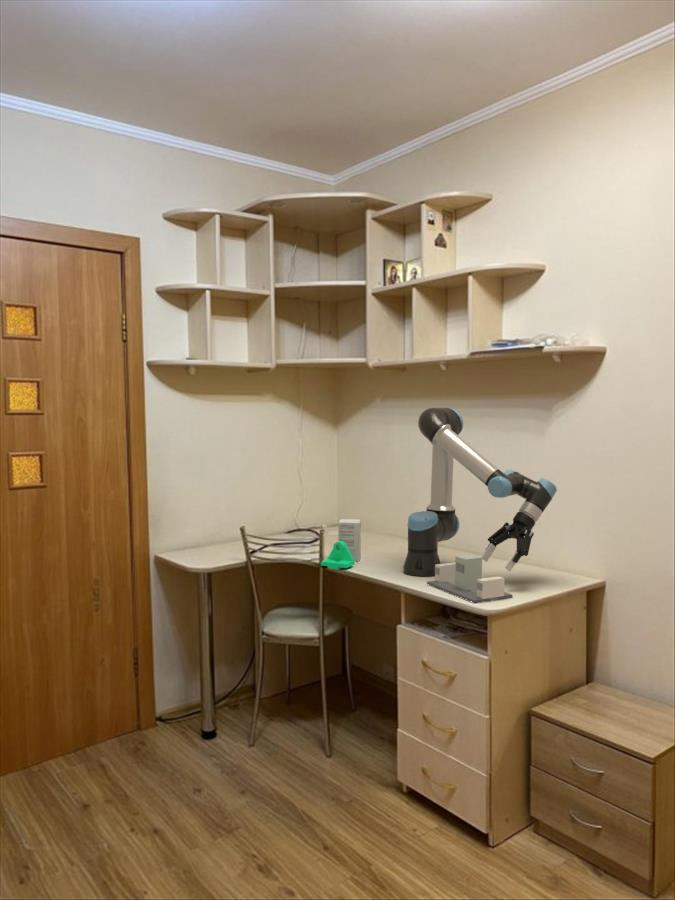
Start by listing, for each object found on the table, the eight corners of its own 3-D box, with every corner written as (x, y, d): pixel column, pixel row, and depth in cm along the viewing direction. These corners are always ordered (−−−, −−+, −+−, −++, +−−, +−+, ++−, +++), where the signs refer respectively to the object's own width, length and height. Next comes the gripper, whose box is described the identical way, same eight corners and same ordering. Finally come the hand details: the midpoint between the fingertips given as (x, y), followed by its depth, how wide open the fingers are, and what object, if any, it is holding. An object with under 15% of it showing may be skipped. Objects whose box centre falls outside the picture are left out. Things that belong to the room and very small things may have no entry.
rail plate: (427, 584, 251) (427, 565, 250) (463, 579, 258) (463, 561, 257) (474, 603, 225) (474, 582, 225) (512, 597, 232) (512, 577, 232)
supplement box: (339, 557, 299) (339, 518, 298) (360, 557, 298) (360, 519, 297) (338, 561, 289) (338, 522, 289) (359, 562, 289) (359, 522, 288)
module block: (454, 587, 242) (454, 556, 242) (471, 584, 246) (471, 554, 245) (464, 591, 237) (464, 559, 237) (481, 588, 240) (481, 557, 240)
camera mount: (319, 567, 279) (319, 542, 278) (328, 564, 286) (328, 539, 285) (346, 570, 273) (346, 545, 273) (354, 567, 280) (354, 542, 280)
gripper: (556, 529, 241) (524, 579, 237) (511, 516, 264) (480, 561, 260) (544, 517, 238) (511, 567, 234) (499, 505, 261) (468, 550, 257)
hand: (495, 564), depth 247 cm, fingers open, 13 cm apart
